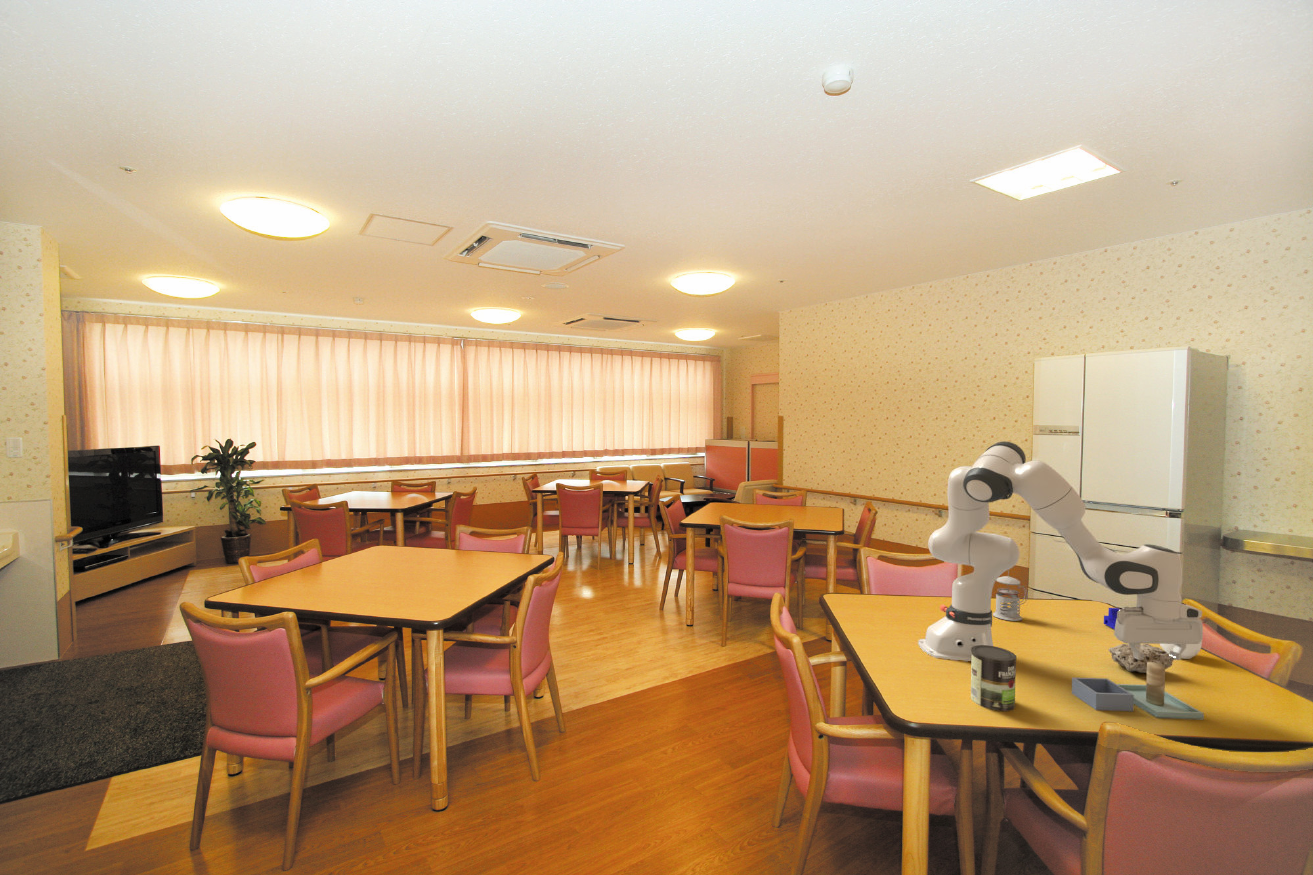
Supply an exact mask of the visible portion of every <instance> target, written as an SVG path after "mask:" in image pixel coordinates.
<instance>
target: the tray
mask: <svg viewBox="0 0 1313 875" xmlns="http://www.w3.org/2000/svg"><path fill="white" fill-rule="evenodd" d="M1116 684H1117V685H1119V686H1120V687H1122V688H1124V689H1125V690H1127V691H1128V692H1130V693H1132V694H1133V695H1134V705H1135V706H1137V707H1138V708H1140V709H1141V710H1143V711H1145V712H1146V713H1147V714H1149V715H1151V716H1153V717H1155V718H1156V719H1172V720H1173V719H1175V720H1179V719H1180V720H1200V721H1201V720H1202V721H1203V720H1205V718H1204V717H1205V716H1204V712H1202V711H1200V710H1199V709H1197V708H1195V707H1193V706H1192V705H1190V704H1189V703H1186V702H1184V701H1182V700H1181V699H1179V698H1177V697H1176V696H1174V695H1172V694H1171V693H1169V692H1167V691H1165V692H1164V705H1163V706H1158V705H1153V704H1150V703H1148V702H1147V701H1146V684H1130V683H1129V684H1128V683H1126V684H1125V683H1121V684H1120V683H1116Z"/></svg>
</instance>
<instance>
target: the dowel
mask: <svg viewBox="0 0 1313 875" xmlns="http://www.w3.org/2000/svg"><path fill="white" fill-rule="evenodd" d="M1165 684H1166V669H1165V666H1164V665H1162V664H1159V663H1155V662H1147V673H1146V683H1145V685H1146V701H1147V702H1148V703H1150V704H1153V705H1158V706H1163V705H1164V692H1166V691H1165V690H1166V689H1165V688H1166V687H1165Z"/></svg>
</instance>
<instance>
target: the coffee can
mask: <svg viewBox="0 0 1313 875" xmlns="http://www.w3.org/2000/svg"><path fill="white" fill-rule="evenodd" d="M971 652H972V659H971V665H970V666H971V667H970V669H971V670H970V673H971V674H970V677H971V679H970V699H971V701H972V702H973V703H974V704H976V705H977V706H980V707H983V708H985V709H989V710H992V711H999V712H1010V711H1013V710H1015V707H1016V677H1017V676H1016V671H1017V670H1016V669H1017V668H1016V667H1017V655H1016V654H1015V653H1014V652H1012V651H1011V650H1008V649H1006V648H1002V647H1000V646H994V645H993V646H988V645H977V646H973V647H972V648H971Z"/></svg>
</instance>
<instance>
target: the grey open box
mask: <svg viewBox="0 0 1313 875" xmlns="http://www.w3.org/2000/svg"><path fill="white" fill-rule="evenodd" d="M1117 684H1118V683H1115V682H1114V681H1112V680H1111V679H1109V678H1104V677H1103V678H1102V677H1100V678H1099V677H1097V678H1096V677H1072V678H1071V694H1072V695H1073V696H1075V697H1076V698H1078V699H1079V700H1080V701H1082V702H1083V703H1084V704H1087V705H1088V706H1089V707H1091V708H1092V709H1093V710H1095V711H1110V712H1111V711H1112V712H1134V705H1135V704H1134V695H1133V694H1132V693H1130V692H1128V691H1127V690H1125V689H1124V688H1122V687H1120V686H1119V685H1117Z"/></svg>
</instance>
